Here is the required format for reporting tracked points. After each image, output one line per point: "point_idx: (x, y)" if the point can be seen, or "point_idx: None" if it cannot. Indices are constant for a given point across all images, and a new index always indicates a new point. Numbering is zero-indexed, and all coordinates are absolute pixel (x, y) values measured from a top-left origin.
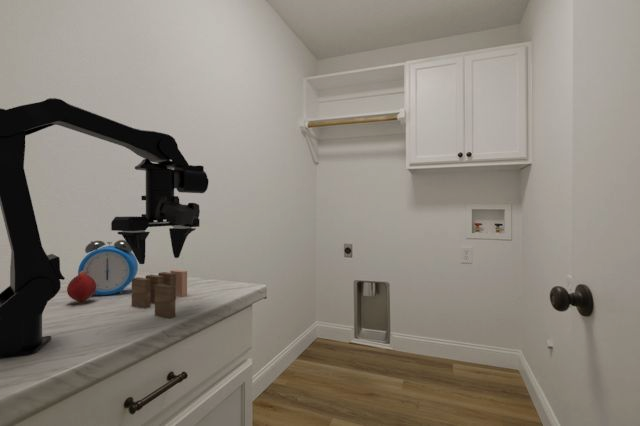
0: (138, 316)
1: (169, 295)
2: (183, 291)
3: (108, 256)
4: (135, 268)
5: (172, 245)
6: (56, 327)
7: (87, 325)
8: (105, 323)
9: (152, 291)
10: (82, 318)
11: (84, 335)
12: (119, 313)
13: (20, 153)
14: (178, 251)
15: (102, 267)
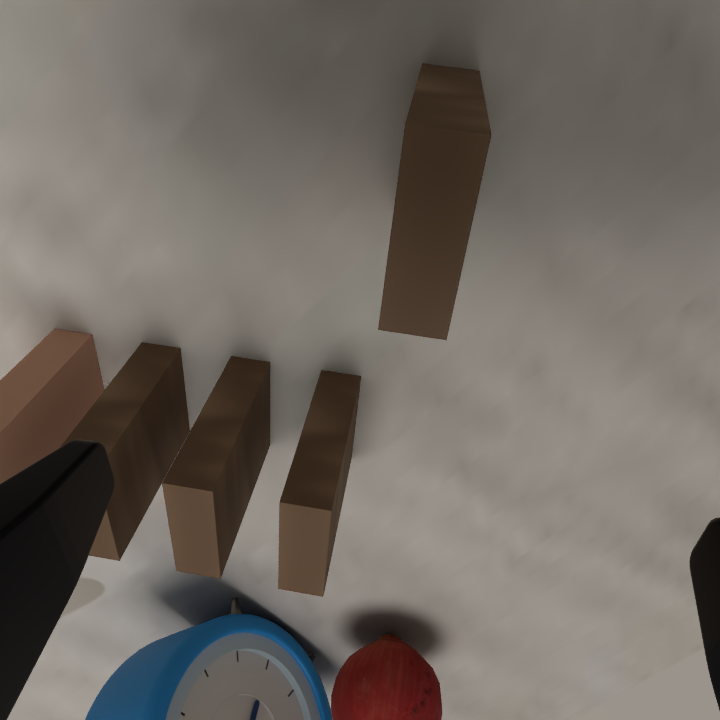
0: (488, 306)
1: (483, 113)
2: (63, 352)
3: None
4: (125, 700)
5: (12, 692)
6: (705, 516)
7: (669, 430)
8: (630, 378)
9: (249, 450)
10: (575, 512)
11: None
12: (470, 428)
13: None
14: (37, 507)
15: None
